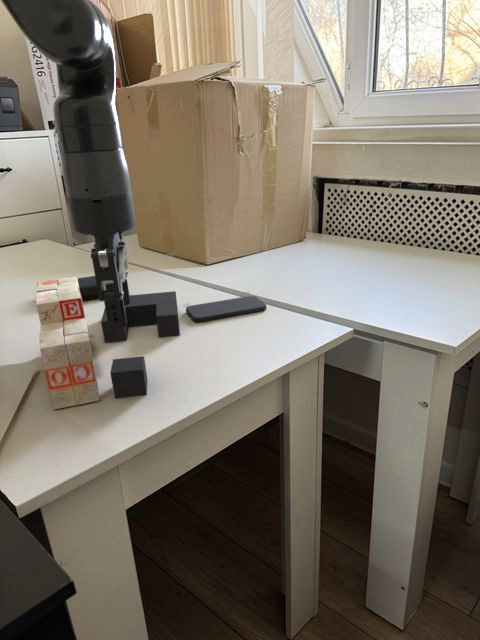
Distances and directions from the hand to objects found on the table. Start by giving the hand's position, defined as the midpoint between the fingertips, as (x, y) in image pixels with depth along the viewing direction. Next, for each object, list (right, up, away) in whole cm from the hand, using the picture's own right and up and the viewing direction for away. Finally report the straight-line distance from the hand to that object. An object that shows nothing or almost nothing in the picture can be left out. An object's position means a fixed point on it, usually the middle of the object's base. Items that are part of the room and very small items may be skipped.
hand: (120, 315), depth 68 cm
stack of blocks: (-10, -8, +10) cm, 16 cm away
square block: (0, -10, +5) cm, 11 cm away
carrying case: (-20, +8, +45) cm, 50 cm away
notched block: (-3, 0, +27) cm, 27 cm away
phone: (+12, +3, +32) cm, 35 cm away
